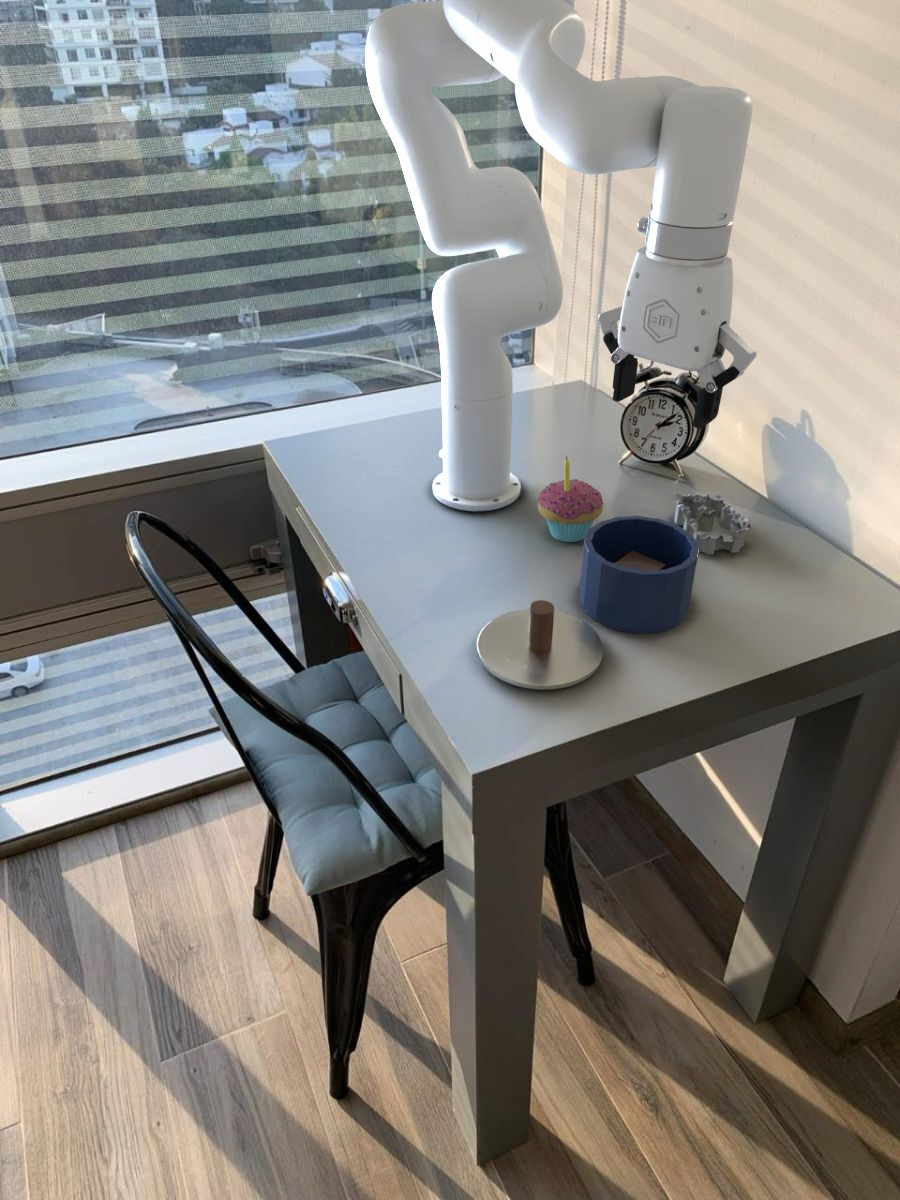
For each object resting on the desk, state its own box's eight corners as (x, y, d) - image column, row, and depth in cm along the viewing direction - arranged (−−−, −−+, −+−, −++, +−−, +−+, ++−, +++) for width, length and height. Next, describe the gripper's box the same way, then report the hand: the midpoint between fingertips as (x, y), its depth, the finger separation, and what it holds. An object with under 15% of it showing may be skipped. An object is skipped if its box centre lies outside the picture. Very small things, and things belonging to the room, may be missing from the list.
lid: (455, 637, 100) (454, 592, 96) (557, 604, 105) (560, 560, 101) (517, 710, 90) (519, 662, 86) (627, 669, 95) (633, 622, 91)
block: (606, 599, 105) (610, 566, 102) (628, 582, 108) (632, 550, 105) (639, 614, 102) (644, 581, 100) (661, 597, 105) (666, 564, 102)
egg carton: (749, 554, 114) (755, 526, 111) (691, 556, 113) (696, 529, 111) (722, 512, 122) (728, 486, 120) (668, 515, 122) (673, 488, 120)
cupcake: (583, 556, 113) (590, 471, 107) (524, 538, 117) (527, 455, 110) (610, 527, 119) (619, 444, 113) (553, 511, 123) (558, 430, 116)
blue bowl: (559, 589, 107) (563, 532, 103) (643, 562, 112) (651, 506, 108) (622, 646, 98) (629, 585, 94) (711, 614, 103) (722, 555, 98)
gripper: (588, 231, 86) (573, 398, 96) (754, 265, 76) (718, 447, 86) (632, 217, 90) (613, 378, 100) (793, 248, 81) (755, 423, 91)
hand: (662, 410), depth 93 cm, fingers open, 9 cm apart
